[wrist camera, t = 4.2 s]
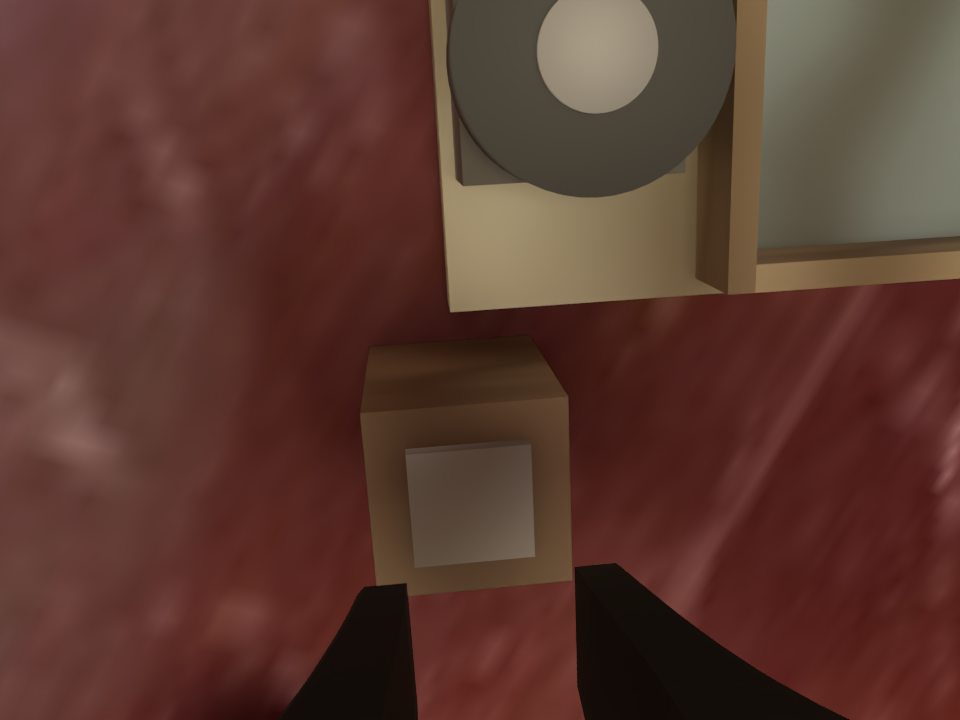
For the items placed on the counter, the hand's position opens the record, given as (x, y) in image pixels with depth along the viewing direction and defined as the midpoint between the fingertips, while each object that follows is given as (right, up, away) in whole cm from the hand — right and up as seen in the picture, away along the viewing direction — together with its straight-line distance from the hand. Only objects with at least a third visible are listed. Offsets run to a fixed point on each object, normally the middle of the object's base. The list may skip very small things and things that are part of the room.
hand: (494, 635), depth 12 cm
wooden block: (-1, +3, +9) cm, 10 cm away
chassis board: (+5, +10, +8) cm, 13 cm away
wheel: (+1, +10, +5) cm, 12 cm away
